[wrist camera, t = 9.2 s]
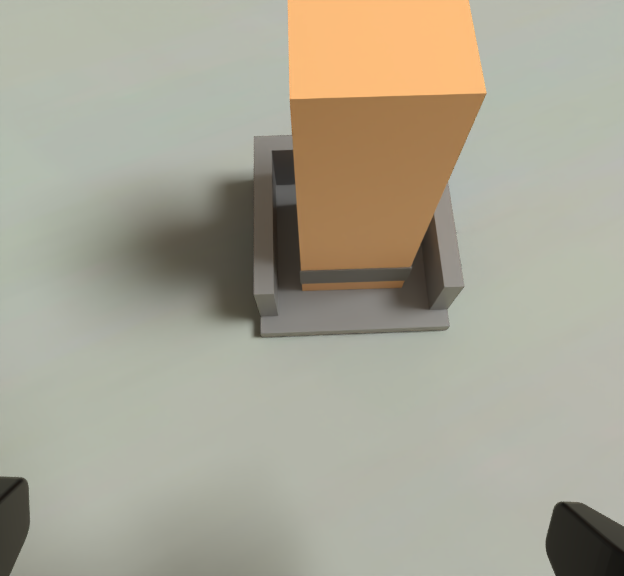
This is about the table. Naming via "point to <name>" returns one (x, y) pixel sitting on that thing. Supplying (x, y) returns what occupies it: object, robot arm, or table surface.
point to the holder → (340, 303)
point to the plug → (375, 130)
